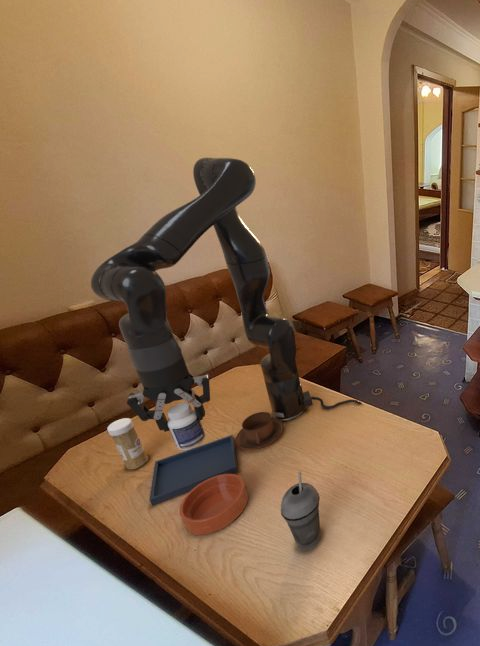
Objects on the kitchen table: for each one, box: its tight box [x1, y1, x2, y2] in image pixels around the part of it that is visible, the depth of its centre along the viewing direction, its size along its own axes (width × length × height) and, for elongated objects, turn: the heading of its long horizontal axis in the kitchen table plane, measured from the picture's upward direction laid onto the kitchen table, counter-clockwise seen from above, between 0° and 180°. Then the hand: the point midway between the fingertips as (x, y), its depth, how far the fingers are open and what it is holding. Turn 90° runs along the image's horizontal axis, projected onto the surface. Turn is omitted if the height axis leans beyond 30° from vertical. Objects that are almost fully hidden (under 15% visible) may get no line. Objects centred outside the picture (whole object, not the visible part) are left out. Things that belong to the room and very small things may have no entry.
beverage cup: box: [280, 471, 321, 552], centre depth 73 cm, size 7×7×20 cm
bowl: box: [178, 473, 249, 536], centre depth 82 cm, size 12×12×4 cm
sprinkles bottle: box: [106, 417, 149, 470], centre depth 91 cm, size 5×5×14 cm
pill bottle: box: [166, 401, 206, 451], centre depth 79 cm, size 5×5×10 cm
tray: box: [149, 434, 239, 507], centre depth 92 cm, size 17×13×2 cm
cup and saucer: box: [235, 411, 284, 450], centre depth 102 cm, size 12×12×6 cm
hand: (184, 423), depth 79 cm, fingers closed on pill bottle, 5 cm apart
